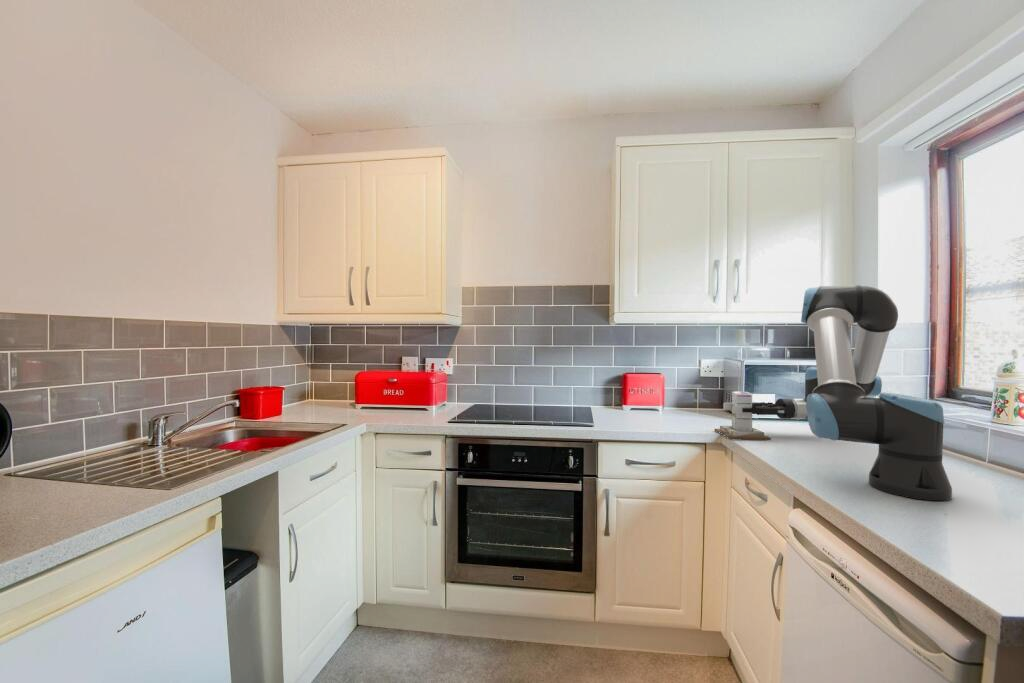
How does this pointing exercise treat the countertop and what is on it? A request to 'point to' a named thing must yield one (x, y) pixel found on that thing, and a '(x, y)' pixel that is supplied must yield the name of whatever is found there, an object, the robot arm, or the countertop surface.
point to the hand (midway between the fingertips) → (728, 407)
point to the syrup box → (740, 419)
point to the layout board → (742, 434)
